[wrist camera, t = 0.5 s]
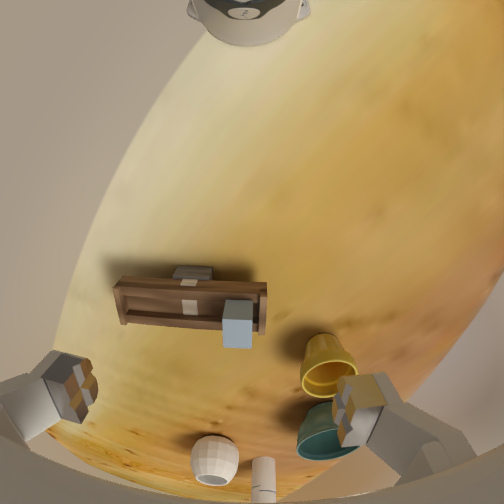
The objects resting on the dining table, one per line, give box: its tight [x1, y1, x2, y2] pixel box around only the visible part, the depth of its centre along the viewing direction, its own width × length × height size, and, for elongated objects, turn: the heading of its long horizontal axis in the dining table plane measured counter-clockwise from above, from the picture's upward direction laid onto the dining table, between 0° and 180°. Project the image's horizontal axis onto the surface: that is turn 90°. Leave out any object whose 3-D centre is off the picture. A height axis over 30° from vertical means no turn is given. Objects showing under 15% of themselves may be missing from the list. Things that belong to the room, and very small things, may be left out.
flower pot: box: [297, 402, 361, 461], centre depth 60 cm, size 16×16×11 cm
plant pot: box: [300, 333, 358, 398], centre depth 52 cm, size 10×10×10 cm
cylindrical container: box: [251, 457, 276, 503], centre depth 65 cm, size 7×7×25 cm
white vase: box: [190, 435, 239, 486], centre depth 66 cm, size 13×13×14 cm
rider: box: [222, 300, 253, 348], centre depth 43 cm, size 5×4×7 cm
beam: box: [113, 265, 267, 335], centre depth 48 cm, size 8×24×8 cm, turn 89°
